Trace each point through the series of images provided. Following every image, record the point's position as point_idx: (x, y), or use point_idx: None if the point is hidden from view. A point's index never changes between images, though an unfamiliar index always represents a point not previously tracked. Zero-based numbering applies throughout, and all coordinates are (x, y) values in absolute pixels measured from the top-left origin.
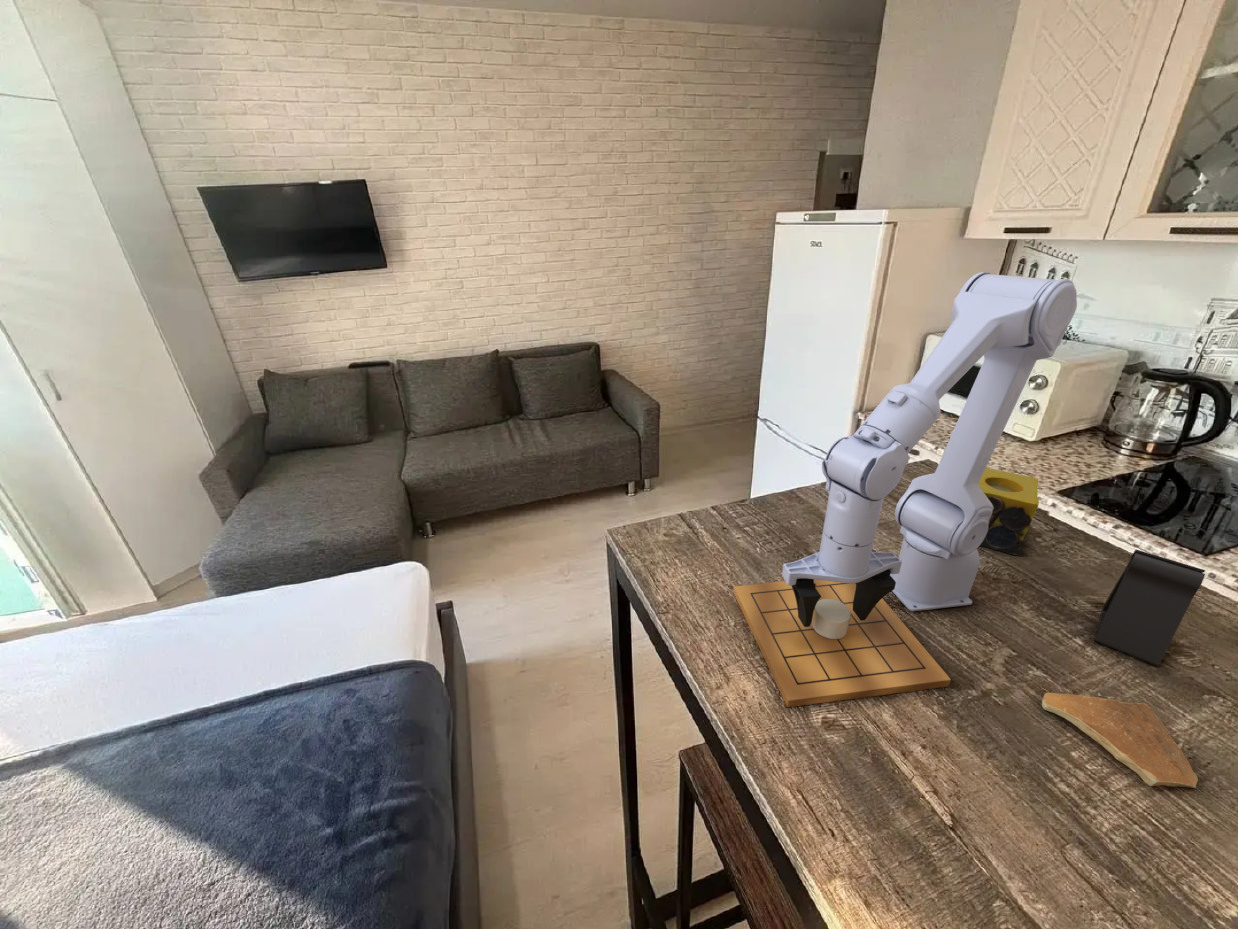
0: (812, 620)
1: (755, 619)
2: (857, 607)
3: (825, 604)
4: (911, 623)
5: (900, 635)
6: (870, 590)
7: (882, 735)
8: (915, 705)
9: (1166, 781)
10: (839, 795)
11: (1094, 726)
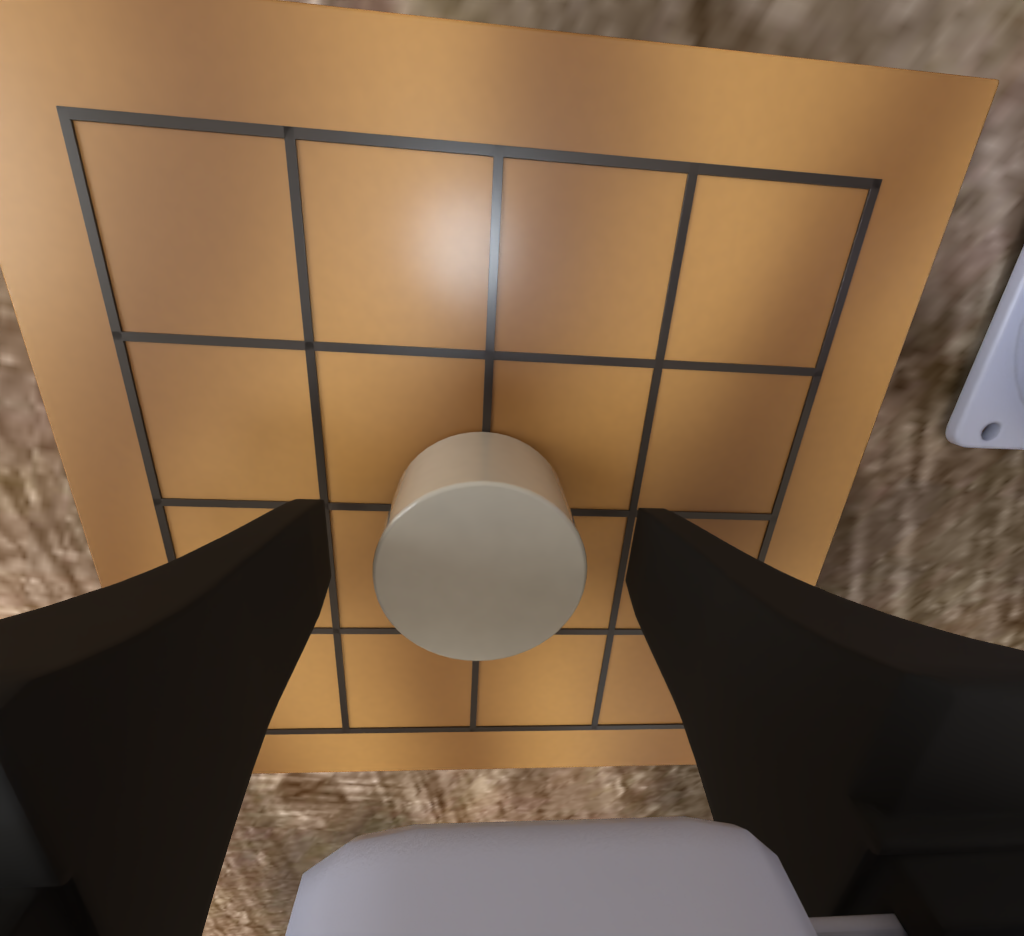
0: (398, 485)
1: (72, 384)
2: (650, 563)
3: (461, 531)
4: (878, 494)
5: None
6: (735, 801)
7: (437, 821)
8: (589, 767)
9: None
10: (255, 907)
11: None
